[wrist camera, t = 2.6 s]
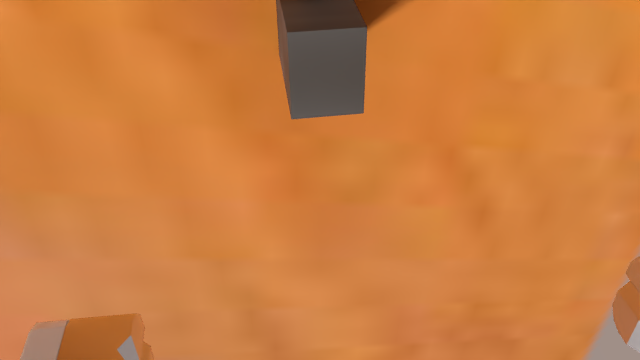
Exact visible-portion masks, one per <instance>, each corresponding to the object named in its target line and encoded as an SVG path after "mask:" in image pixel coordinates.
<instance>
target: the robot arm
mask: <svg viewBox="0 0 640 360" xmlns="http://www.w3.org/2000/svg"><path fill="white" fill-rule="evenodd" d="M626 274H627V276H628V278H629V280H630V281H629V282H628V283H627V284H626V285H624V286H623V287H622V288H621V289H620V290H618V292H617V294H616V297H615V300H614V302H613V316H614V322H615V324H616V327H617V329H618V332H619V334H620V335H621V337H622V338H623V340H624V341H625V343H626V344H627V345H628V346H629V347H631V348H633V349H635V350H636V351H638V352H639V353H640V257H637V258H636V259H634V260H633V261H632V262H631V263H630V265H629V267H628V269H627V271H626ZM144 331H145V326H144V324H143V321H142V318H141V315H140V314H137V313H136V314H124V315H113V316H101V317H89V318H78V319H70V320H59V321H49V322H38V323H36V324H35V325H34V326H33V328H32V329H31V330H30V332H29V334H28V337H27V340H26V343H25V346H24V349H23V352H22V355H21V358H20V360H154V357H153V353H152V349H151V346H150V345H149V344H147V343H145V342H144V341H143V339H144Z"/></svg>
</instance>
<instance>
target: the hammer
mask: <svg viewBox="0 0 640 360" xmlns="http://www.w3.org/2000/svg"><path fill="white" fill-rule="evenodd" d="M276 6H277V22H278V39H279V55H280V60H281V66H282V71H283V77H284V82H285V87H286V93H287V98H288V104H289V109H290V114H291V119H301V118H313V117H325V116H337V115H349V114H361V113H364V90H365V66H366V41H367V26H366V24H365V22H364V20H363V18H362V16H361V14H360V12H359V10H358V8H357V6H356V4H355V2H354V0H276Z"/></svg>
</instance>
